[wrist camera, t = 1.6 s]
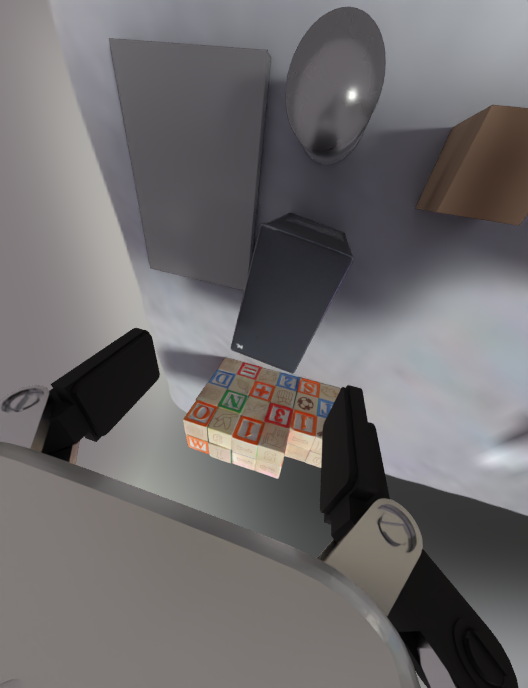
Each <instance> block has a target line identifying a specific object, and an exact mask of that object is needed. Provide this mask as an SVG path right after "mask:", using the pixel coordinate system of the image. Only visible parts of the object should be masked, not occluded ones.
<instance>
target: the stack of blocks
mask: <svg viewBox="0 0 528 688" xmlns="http://www.w3.org/2000/svg"><path fill="white" fill-rule="evenodd" d="M340 390H341V389H340V388H337V387H333V386H330V385H326V384H322V383H318V382H315V381H311V380H308V379H304V378H299V377H295V376H292V375H288V374H284V373H280V372H276V371H273V370H269V369H265V368H262V367H259V366H255V365H252V364H248V363H244V362H241V361H237V360H234V359H230V358H225V359H224V360H223V362H222V363H221V365H220V366H219V367H218V369H217V371H216V372H215V374H214V375H213V376H212V378H211V379H210V381H209V382H208V383H207V384H206V386H205V387H204V388H203V390H202V391H201V393H200V394H199V395H198V397H197V398H196V402H195V403H194V404H193V406H192V407H191V409H190V410H189V412H188V413H187V415H186V416H185V417H184V419H183V422H184V427H185V433H186V438H187V442H188V446H189V447H190V448H193V449H195V450H198V451H201V452H204V453H207V454H210V456H211V457H214V458H217V459H219V460H222V461H225V462H228V463H231V462H232V463H233V464H236V465H239V466H242V467H245V468H248V469H251V470H256V471H257V472H260V473H263V474H266V475H269V476H272V477H275V478H279V474H280V471H281V467H282V462H283V458H284V456H288V457H290V458H294V459H297V460H300V461H303V462H305V463H308V464H311V465H315V466H317V467H320V468H321V460H322V430H323V424H324V422H325V420H326V418H327V416H328V414H329V412H330V410H331V408H332V406H333V404H334V402H335V400H336V398H337V396H338V394H339V392H340Z"/></svg>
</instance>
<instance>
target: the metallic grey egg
mask: <svg viewBox="0 0 528 688" xmlns="http://www.w3.org/2000/svg"><path fill="white" fill-rule="evenodd" d="M385 64H386V61H385V48H384V42H383V39H382V35H381V33H380V30H379V28H378V26H377V25H376V23H375V21H374V20H373V19H372V18H371V17H370V16H369V15H368V14H367V13H365V12H364V11H362V10H360V9H358V8H353V7H341V8H338V9H334V10H332V11H330V12H328V13H326V14H325V15H323V16H322V17H321V18H319V19H318V20H317V21H316V22H315V23H314V24H313V25H312V26H311V27H310V28H309V30H308V31H307V32H306V34H305V35H304V37H303V38H302V40H301V41H300V43H299V45H298V47H297V49H296V51H295V53H294V56H293V58H292V61H291V64H290V68H289V72H288V76H287V82H286V92H285V97H286V110H287V115H288V119H289V123H290V125H291V128H292V130H293V132H294V133H295V135H296V137H297V138H298V140H299V141H300V143H301V144H302V146H303V148H304V149H305V151H306V152H307V154H308V155H309V156H310V157H311V158H312V159H313V160H314V161H316V162H318V163H321V164H332V163H336V162H338V161H340V160H342V159H343V158H345V157H346V156H347V155H348V154H349V153H350V152H351V151H352V150H353V149H354V148H355V146H356V145H357V144H358V142H359V140H360V138H361V136H362V134H363V132H364V130H365V128H366V126H367V124H368V122H369V119H370V117H371V115H372V113H373V111H374V109H375V107H376V104H377V102H378V99H379V96H380V94H381V90H382V86H383V82H384V76H385Z"/></svg>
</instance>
